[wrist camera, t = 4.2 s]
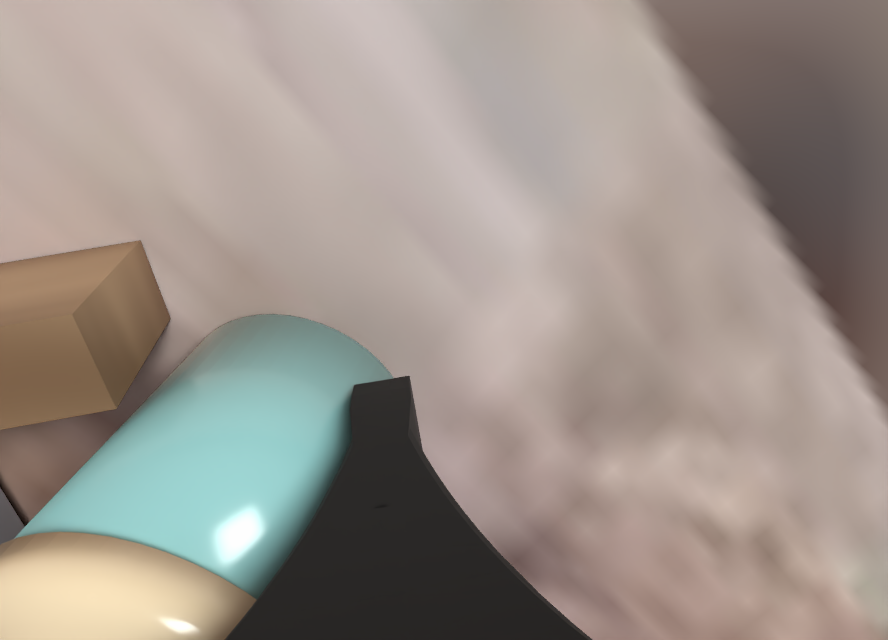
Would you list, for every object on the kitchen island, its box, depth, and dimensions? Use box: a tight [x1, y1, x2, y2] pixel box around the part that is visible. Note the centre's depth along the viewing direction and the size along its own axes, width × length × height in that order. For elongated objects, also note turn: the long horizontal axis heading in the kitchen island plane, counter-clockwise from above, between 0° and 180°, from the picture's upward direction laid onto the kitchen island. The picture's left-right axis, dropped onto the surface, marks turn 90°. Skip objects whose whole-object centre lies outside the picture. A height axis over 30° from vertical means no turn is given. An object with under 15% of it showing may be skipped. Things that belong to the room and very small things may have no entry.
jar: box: [0, 314, 393, 640], centre depth 10 cm, size 5×5×6 cm
